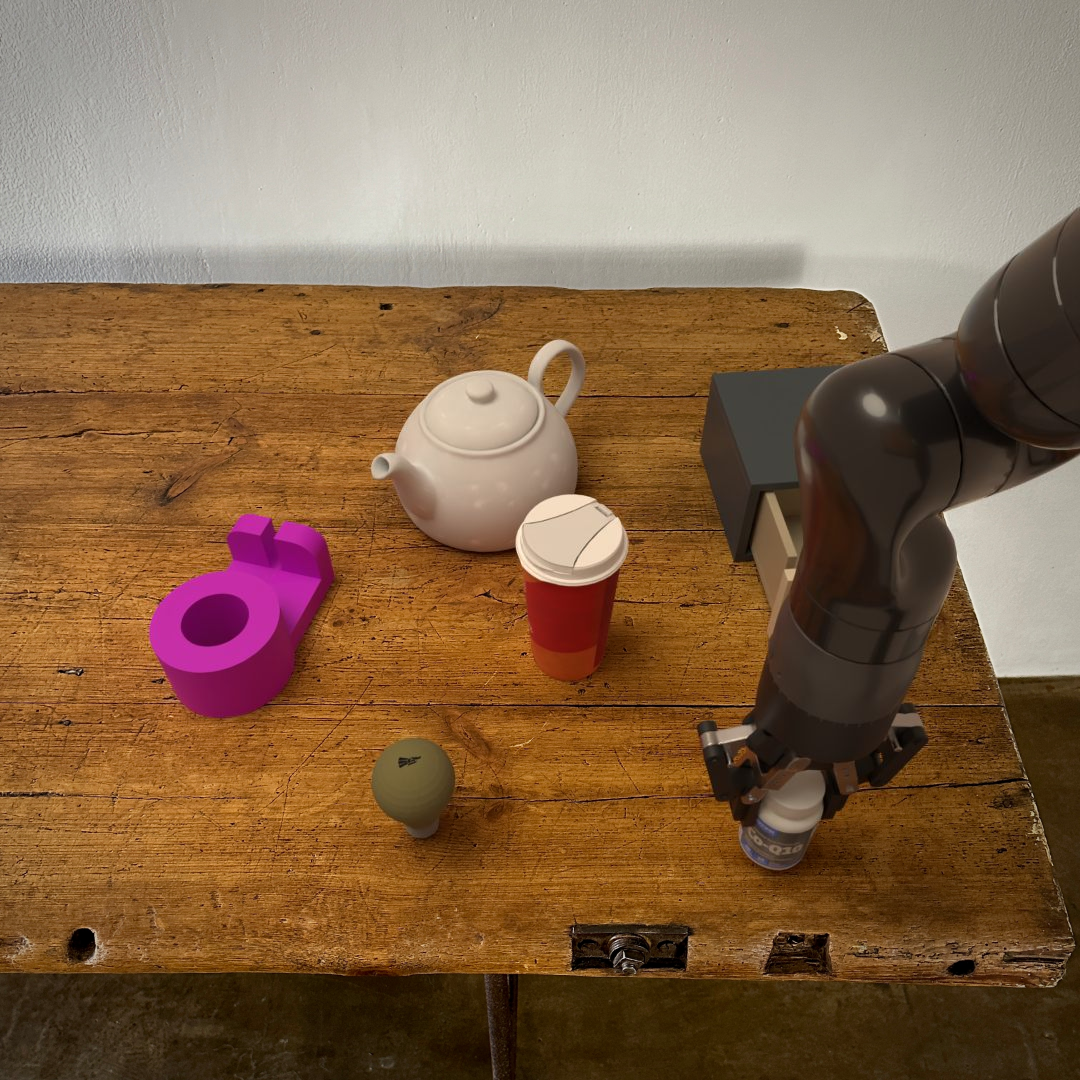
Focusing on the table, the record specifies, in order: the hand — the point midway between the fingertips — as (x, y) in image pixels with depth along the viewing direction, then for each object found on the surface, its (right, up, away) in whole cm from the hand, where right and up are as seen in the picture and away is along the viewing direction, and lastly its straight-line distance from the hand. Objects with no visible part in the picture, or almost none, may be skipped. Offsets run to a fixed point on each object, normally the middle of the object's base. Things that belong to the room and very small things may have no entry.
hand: (783, 810), depth 65 cm
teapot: (-21, +22, +29) cm, 42 cm away
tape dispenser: (-41, +10, +17) cm, 45 cm away
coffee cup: (-14, +9, +16) cm, 23 cm away
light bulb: (-25, -3, +6) cm, 26 cm away
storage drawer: (+8, +13, +19) cm, 25 cm away
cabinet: (+7, +22, +28) cm, 36 cm away
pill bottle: (0, -3, +3) cm, 5 cm away
